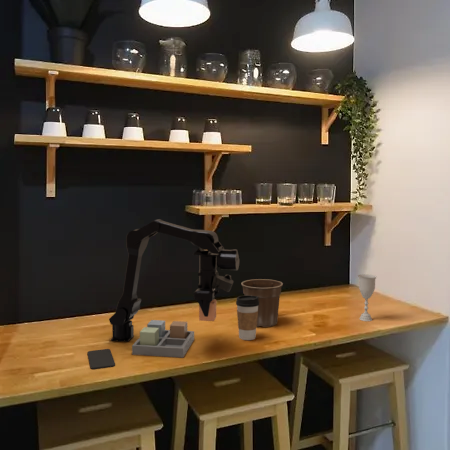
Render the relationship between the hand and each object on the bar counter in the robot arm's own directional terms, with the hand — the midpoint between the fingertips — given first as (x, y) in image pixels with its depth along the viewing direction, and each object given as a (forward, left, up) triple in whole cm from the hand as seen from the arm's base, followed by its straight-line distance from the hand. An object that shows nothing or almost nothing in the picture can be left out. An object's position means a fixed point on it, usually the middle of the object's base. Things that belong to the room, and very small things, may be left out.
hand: (207, 314), depth 155 cm
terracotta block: (0, 0, -2) cm, 2 cm away
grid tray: (-14, -2, -11) cm, 18 cm away
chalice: (+59, +40, -12) cm, 72 cm away
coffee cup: (+13, +11, -12) cm, 20 cm away
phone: (-31, -16, -12) cm, 37 cm away
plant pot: (+17, +29, -12) cm, 36 cm away
